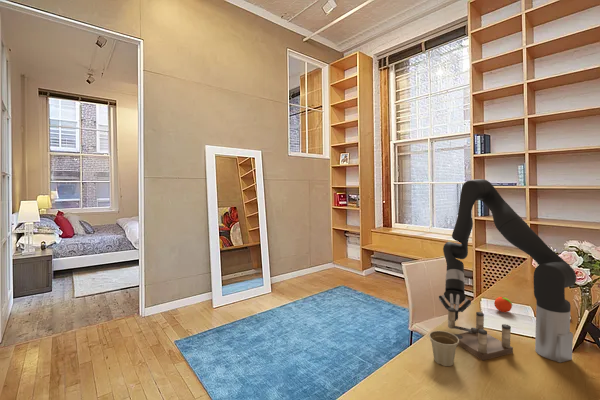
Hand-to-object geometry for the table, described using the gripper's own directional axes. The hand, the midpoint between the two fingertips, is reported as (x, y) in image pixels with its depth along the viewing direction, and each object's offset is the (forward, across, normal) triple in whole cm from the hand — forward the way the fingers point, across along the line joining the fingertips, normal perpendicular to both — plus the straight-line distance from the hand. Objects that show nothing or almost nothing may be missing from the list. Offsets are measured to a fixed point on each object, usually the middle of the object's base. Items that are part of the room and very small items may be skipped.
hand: (454, 320), depth 124 cm
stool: (+9, +9, -2) cm, 13 cm away
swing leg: (+3, +3, 0) cm, 4 cm away
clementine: (-17, +20, +25) cm, 37 cm away
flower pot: (+21, -3, -14) cm, 25 cm away
